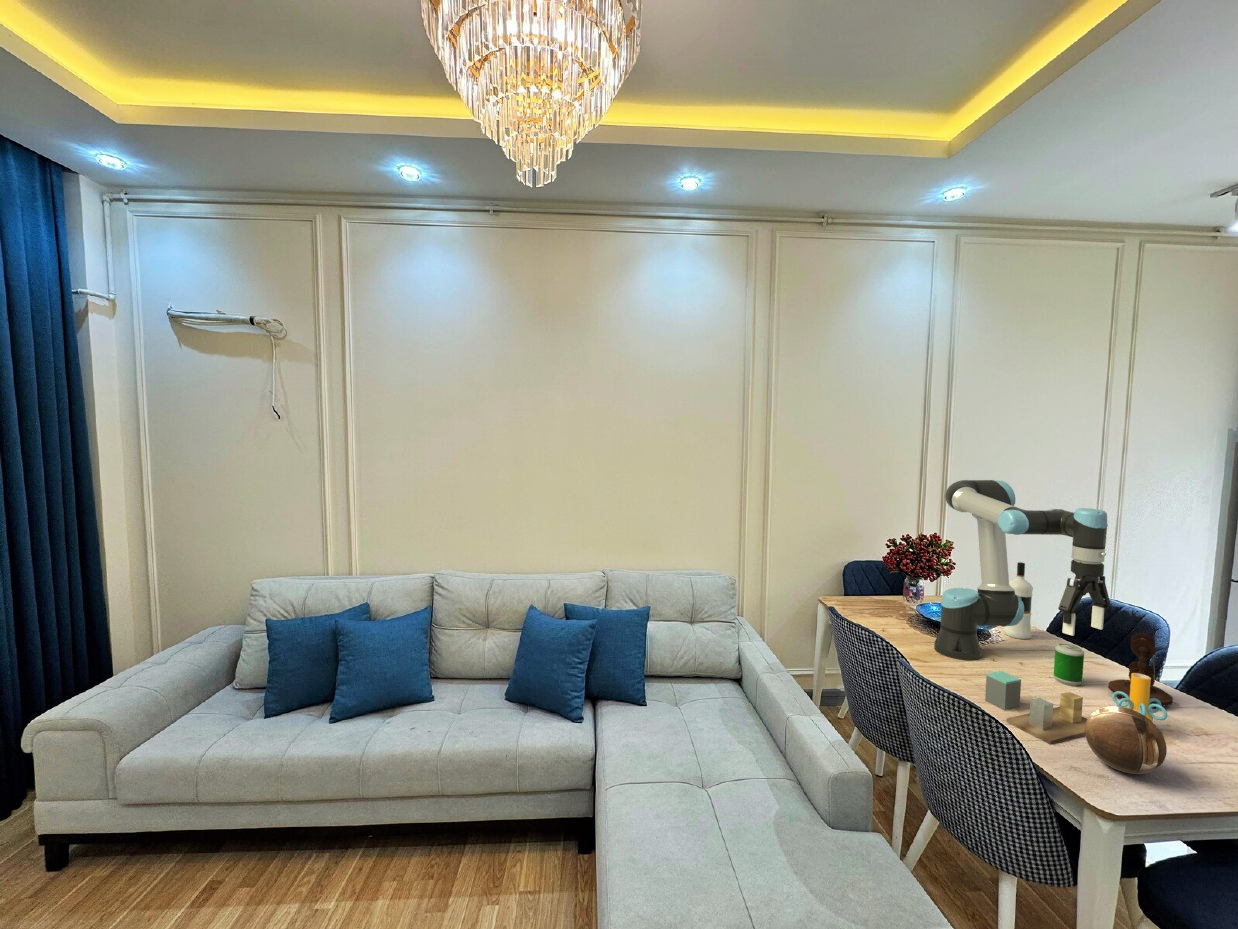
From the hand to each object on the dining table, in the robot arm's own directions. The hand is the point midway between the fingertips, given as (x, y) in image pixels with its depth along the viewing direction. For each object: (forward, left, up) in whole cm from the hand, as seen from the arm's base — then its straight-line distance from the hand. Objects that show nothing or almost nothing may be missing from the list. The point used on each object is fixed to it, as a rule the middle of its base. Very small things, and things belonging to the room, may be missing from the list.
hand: (1082, 631), depth 168 cm
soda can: (-12, +15, -24) cm, 31 cm away
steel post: (+6, -24, -23) cm, 34 cm away
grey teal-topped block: (-8, -20, -23) cm, 32 cm away
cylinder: (+14, +3, -24) cm, 27 cm away
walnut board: (+6, -18, -23) cm, 30 cm away
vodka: (-47, +40, -24) cm, 66 cm away
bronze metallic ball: (+25, -23, -24) cm, 41 cm away
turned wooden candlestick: (+3, +24, -24) cm, 34 cm away
